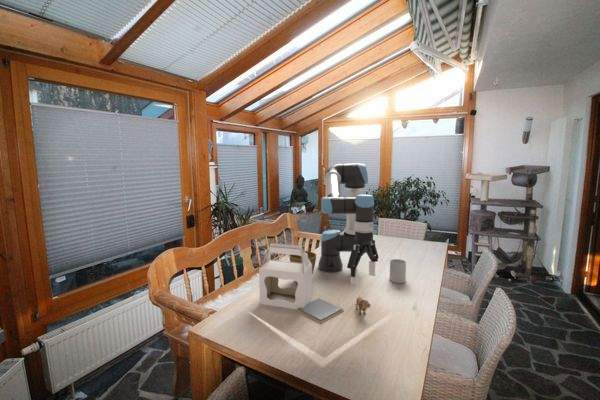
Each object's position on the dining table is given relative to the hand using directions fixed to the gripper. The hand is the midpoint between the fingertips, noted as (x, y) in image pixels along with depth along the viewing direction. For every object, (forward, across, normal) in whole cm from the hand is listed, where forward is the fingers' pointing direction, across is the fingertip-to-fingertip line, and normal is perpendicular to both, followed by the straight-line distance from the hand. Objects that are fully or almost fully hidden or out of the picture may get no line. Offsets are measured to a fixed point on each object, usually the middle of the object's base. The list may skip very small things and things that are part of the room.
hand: (363, 279), depth 124 cm
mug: (+15, +47, +7) cm, 49 cm away
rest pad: (+15, -12, +14) cm, 24 cm away
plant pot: (+15, +5, +42) cm, 45 cm away
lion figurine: (+15, 0, +1) cm, 15 cm away
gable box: (+15, -16, +32) cm, 39 cm away
